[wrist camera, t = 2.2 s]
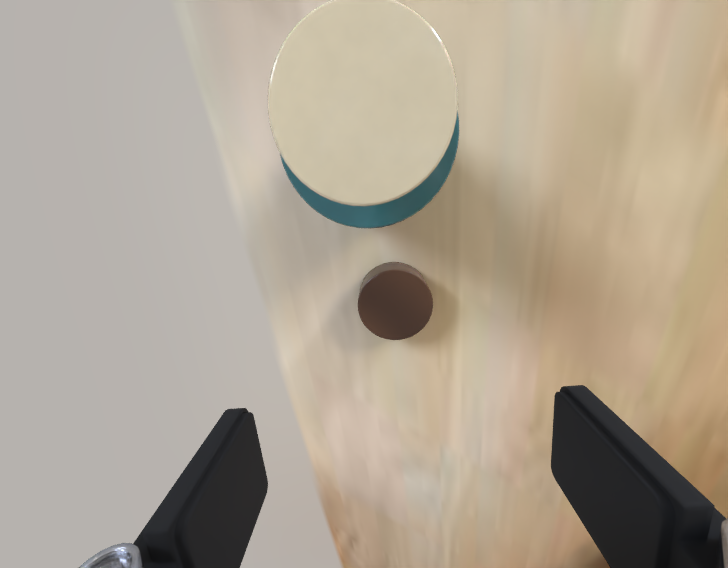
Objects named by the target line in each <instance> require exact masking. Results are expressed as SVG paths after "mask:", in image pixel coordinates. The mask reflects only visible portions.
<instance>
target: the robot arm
mask: <svg viewBox="0 0 728 568" xmlns="http://www.w3.org/2000/svg"><path fill="white" fill-rule="evenodd" d="M551 469H552V473H553V475H554V478H555V480H556V481H557V483H558V484H559V486H560V488H561V489H562V491H563V492H564V494H565V496H566V497H567V499H568V500H569V502H570V504H571V505H572V507H573V508H574V510H575V512H576V513H577V515H578V516H579V518H580V520H581V521H582V523H583V524H584V526H585V528H586V529H587V531H588V532H589V534H590V536H591V537H592V539H593V540H594V542H595V544H596V545H597V547H598V548H599V550H600V552H601V553H602V555H603V556H604V558H605V560H606V561H607V563H608V564H609V566H610V567H611V568H728V518H727V519H726V518H725V517H724V516H723V515H722V514H721V513H720V512H719V511H717V510H716V509H715V508H714V505H713V504H712V503H711V502H710V501H709V500H708V499H707V498H706V497H705V496H704V495H702V494H701V493H700V492H699V491H698V490H697V489H696V488H695V487H694V486H693V485H692V484H691V483H689V482H688V481H687V480H686V479H685V478H684V477H683V476H682V475H681V474H680V473H679V472H678V471H676V470H675V469H674V468H673V467H672V466H671V465H670V464H669V463H668V462H667V461H666V460H665V459H663V458H662V457H661V456H660V455H659V454H658V453H657V452H656V451H655V450H654V449H653V448H652V447H651V446H649V445H648V444H647V443H646V442H645V441H644V440H643V439H642V438H641V437H640V436H639V435H638V434H636V433H635V432H634V431H633V430H632V429H631V428H630V427H629V426H628V425H627V424H626V423H625V422H623V421H622V420H621V419H620V418H619V417H618V416H617V415H616V414H615V413H614V412H613V411H612V410H610V409H609V408H608V407H607V406H606V405H605V404H604V403H603V402H602V401H601V400H600V399H599V398H597V397H596V396H595V395H594V394H593V393H592V392H591V391H590V390H589V389H588V388H587V387H585V386H583V385H578V386H564V387H561V389H560V392H556V394H555V401H554V419H553V438H552V456H551ZM267 488H268V481H267V476H266V471H265V466H264V462H263V457H262V453H261V448H260V443H259V439H258V434H257V429H256V425H255V420H254V416H253V414H252V413H251V412H250V413H248V411H247V409H246V408H238V409H228V410H226V411H225V412H224V413H223V415H222V416H221V418H220V419H219V421H218V422H217V424H216V425H215V426H214V428H213V429H212V431H211V432H210V434H209V435H208V437H207V438H206V440H205V441H204V442H203V444H202V445H201V447H200V448H199V450H198V451H197V453H196V454H195V455H194V457H193V458H192V460H191V461H190V463H189V464H188V465H187V467H186V468H185V470H184V471H183V473H182V474H181V475H180V477H179V478H178V480H177V481H176V483H175V484H174V486H173V487H172V489H171V490H170V491H169V493H168V494H167V496H166V497H165V499H164V500H163V502H162V503H161V504H160V506H159V507H158V509H157V510H156V512H155V513H154V515H153V516H152V517H151V519H150V520H149V522H148V523H147V525H146V526H145V528H144V529H143V530H142V532H141V533H140V535H139V536H138V538H137V539H136V541H135V542H134V544H132V543H121V544H117V545H113V546H111V547H109V548H107V549H104V550H102V551H100V552H99V553H97V554H96V555H94V556H93V557H91V558H90V559H88V560H87V561H86V562H85V563H83V564H82V565H81V566H80V567H79V568H240V565H241V562H242V559H243V557H244V554H245V551H246V548H247V546H248V543H249V540H250V537H251V535H252V532H253V529H254V526H255V524H256V521H257V518H258V515H259V513H260V510H261V507H262V504H263V502H264V499H265V496H266V493H267Z"/></svg>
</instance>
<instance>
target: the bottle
mask: <svg viewBox="0 0 728 568" xmlns="http://www.w3.org/2000/svg"><path fill="white" fill-rule="evenodd" d="M457 109H458V89H457V82H456V76H455V72H454V68H453V65H452V62H451V59H450V57H449V54H448V52H447V49H446V48H445V46H444V44H443V42H442V41H441V39H440V37H439V36H438V35H437V33H436V32H435V31H434V29H433V28H432V27H431V26H430V25H429V24H428V23H427V22H426V21H425V20H424V19H423V18H422V17H421V16H420V15H419V14H417V13H416V12H414V11H413V10H412V9H410V8H409V7H407V6H405V5H403V4H401V3H399V2H397V1H394V0H332V1H330V2H327V3H325V4H323V5H321V6H319V7H318V8H316V9H315V10H313V11H312V12H310V13H309V14H308V15H307V16H305V17H304V18H303V19H302V20H301V21H300V22H299V23H298V24H297V25H296V26H295V27H294V29H293V30H292V31H291V32H290V33H289V35H288V36H287V38H286V40H285V41H284V43H283V44H282V46H281V48H280V50H279V52H278V55H277V57H276V59H275V62H274V65H273V68H272V71H271V76H270V81H269V87H268V115H269V121H270V127H271V131H272V134H273V138H274V141H275V143H276V145H277V148H278V150H279V152H280V156H281V160H282V163H283V166H284V169H285V171H286V173H287V176H288V178H289V180H290V181H291V183H292V185H293V187H294V188H295V189H296V191H297V192H298V193H299V195H300V196H301V197H302V198H303V199H304V200H305V201H306V203H307V204H308V205H309V206H311V207H312V208H313V209H314V210H316V211H317V212H318V213H320V214H321V215H323V216H325V217H326V218H328V219H330V220H332V221H335V222H337V223H340V224H343V225H346V226H350V227H356V228H379V227H384V226H389V225H393V224H395V223H398V222H401V221H403V220H405V219H407V218H409V217H411V216H413V215H414V214H415V213H417V212H418V211H420V210H421V209H422V208H423V207H425V206H426V205H427V204H428V203H429V202H430V201H431V200H432V199H433V198H434V196H435V195H436V194H437V193H438V192H439V190H440V189H441V187H442V186H443V184H444V183H445V181H446V179H447V177H448V175H449V173H450V171H451V168H452V166H453V163H454V160H455V157H456V152H457V148H458V140H459V117H458V110H457Z"/></svg>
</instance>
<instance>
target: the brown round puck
mask: <svg viewBox="0 0 728 568" xmlns="http://www.w3.org/2000/svg"><path fill="white" fill-rule="evenodd" d="M432 309H433V299H432V295H431V292H430V290H429V288H428V286H427V284H426V282H425V280H424V278H423V277H422V275H421V274H420V273H419V272H418V271H417V270H416V269H415V268H413V267H411V266H409V265H407V264H404V263H399V262H389V263H384V264H382V265H379V266H377V267H375V268H374V269H372V270H371V271H370V272H369V273H368V274H367V275H366V277H365V278H364V280H363V282H362V284H361V287H360V293H359V299H358V311H359V315H360V318H361V320H362V322H363V324H364V325H365V326H366V327H367V328H368V329H369V330H370V331H371V332H372V333H374V334H375V335H377V336H379V337H382V338H385V339H390V340H400V339H405V338H408V337H411V336H413V335H415V334H416V333H418V332H419V331H420V330H422V329H423V327H424V326H425V325H426V324H427V322H428V321H429V319H430V316H431V314H432Z"/></svg>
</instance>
